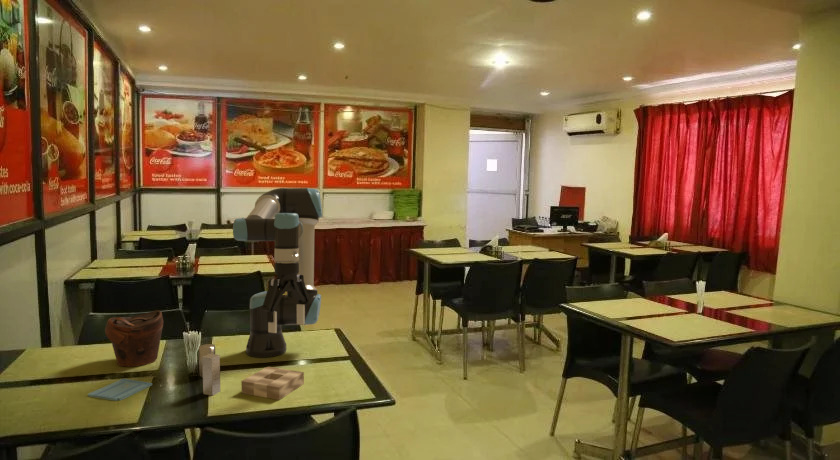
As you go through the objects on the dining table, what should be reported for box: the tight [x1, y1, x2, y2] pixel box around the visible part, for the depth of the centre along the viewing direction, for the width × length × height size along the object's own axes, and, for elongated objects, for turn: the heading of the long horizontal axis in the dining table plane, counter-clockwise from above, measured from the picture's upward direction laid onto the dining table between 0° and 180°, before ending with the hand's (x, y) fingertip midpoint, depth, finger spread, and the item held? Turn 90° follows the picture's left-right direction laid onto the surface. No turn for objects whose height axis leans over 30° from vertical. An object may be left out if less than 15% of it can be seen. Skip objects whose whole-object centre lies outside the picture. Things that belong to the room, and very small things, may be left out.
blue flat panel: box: [87, 378, 153, 402], centre depth 176 cm, size 14×12×1 cm
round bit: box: [198, 343, 216, 378], centre depth 190 cm, size 5×5×10 cm
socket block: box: [240, 366, 305, 401], centre depth 179 cm, size 14×14×4 cm
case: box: [104, 309, 164, 368], centre depth 201 cm, size 18×20×18 cm
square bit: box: [202, 353, 221, 396], centre depth 174 cm, size 4×4×12 cm
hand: (287, 328), depth 176 cm, fingers open, 13 cm apart
